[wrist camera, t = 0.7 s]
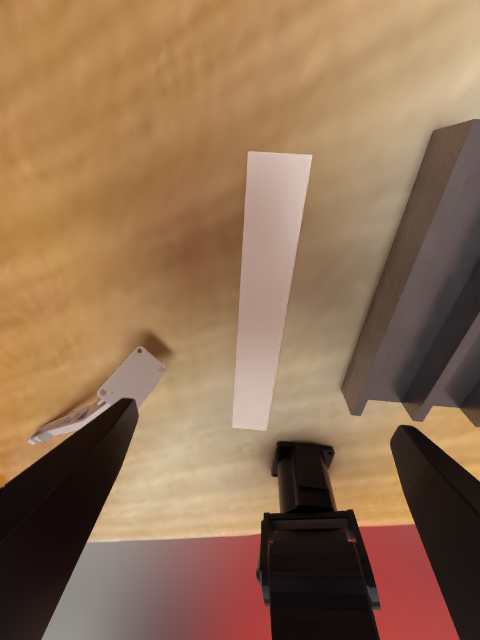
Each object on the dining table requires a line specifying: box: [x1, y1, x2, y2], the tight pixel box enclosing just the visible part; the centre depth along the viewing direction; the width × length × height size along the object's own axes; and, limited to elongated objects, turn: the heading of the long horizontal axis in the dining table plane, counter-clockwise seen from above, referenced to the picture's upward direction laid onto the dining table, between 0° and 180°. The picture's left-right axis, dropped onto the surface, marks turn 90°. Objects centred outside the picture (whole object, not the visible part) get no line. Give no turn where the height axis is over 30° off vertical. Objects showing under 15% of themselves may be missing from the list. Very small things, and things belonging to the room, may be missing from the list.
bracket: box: [27, 346, 166, 445], centre depth 25 cm, size 3×21×10 cm, turn 129°
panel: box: [232, 151, 312, 431], centre depth 16 cm, size 16×2×7 cm, turn 177°
